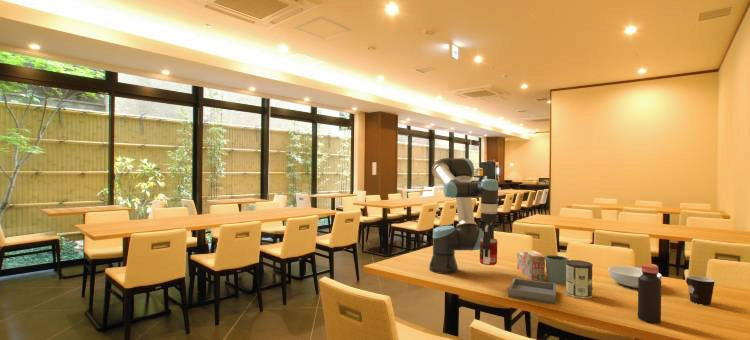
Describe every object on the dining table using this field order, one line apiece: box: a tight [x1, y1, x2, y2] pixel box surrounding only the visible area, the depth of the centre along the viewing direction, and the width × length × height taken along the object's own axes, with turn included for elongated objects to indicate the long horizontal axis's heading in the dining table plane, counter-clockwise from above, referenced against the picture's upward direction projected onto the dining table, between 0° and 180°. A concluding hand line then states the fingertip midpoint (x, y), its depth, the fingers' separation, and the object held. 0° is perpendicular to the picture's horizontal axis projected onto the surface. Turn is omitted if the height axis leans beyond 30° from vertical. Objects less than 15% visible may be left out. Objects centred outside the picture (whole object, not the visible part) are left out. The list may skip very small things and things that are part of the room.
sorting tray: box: [508, 277, 557, 305], centre depth 162 cm, size 18×18×4 cm
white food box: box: [516, 250, 546, 281], centre depth 193 cm, size 21×6×12 cm, turn 178°
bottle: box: [637, 263, 662, 324], centre depth 135 cm, size 7×7×20 cm
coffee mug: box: [685, 275, 715, 306], centre depth 155 cm, size 12×9×10 cm
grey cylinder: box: [544, 254, 569, 286], centre depth 181 cm, size 10×10×12 cm
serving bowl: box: [608, 265, 662, 289], centre depth 176 cm, size 21×21×7 cm
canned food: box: [479, 238, 498, 266], centre depth 171 cm, size 8×8×11 cm
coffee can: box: [565, 259, 594, 300], centre depth 162 cm, size 10×10×14 cm
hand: (488, 261), depth 171 cm, fingers closed on canned food, 8 cm apart
